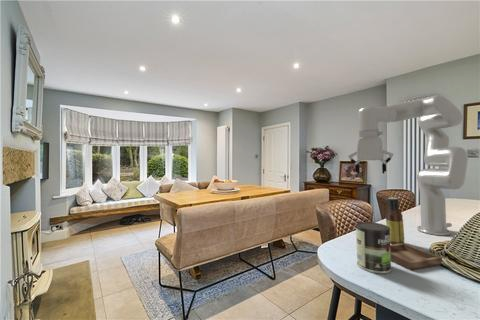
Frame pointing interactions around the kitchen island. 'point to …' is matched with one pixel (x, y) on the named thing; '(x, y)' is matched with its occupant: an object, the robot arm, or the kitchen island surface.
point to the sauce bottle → (395, 221)
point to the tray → (413, 257)
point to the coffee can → (373, 247)
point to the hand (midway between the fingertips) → (370, 173)
